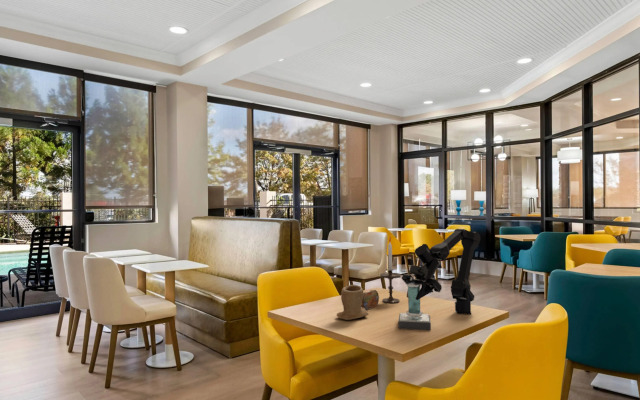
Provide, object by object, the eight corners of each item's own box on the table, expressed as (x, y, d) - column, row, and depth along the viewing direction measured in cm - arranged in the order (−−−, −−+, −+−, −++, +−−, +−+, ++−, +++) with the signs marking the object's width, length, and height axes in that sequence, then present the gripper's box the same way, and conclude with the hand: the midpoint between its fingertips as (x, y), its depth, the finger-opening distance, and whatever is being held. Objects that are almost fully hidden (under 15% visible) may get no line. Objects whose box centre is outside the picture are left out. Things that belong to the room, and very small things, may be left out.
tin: (364, 311, 204) (364, 294, 204) (359, 310, 206) (358, 293, 206) (379, 305, 216) (379, 288, 216) (374, 304, 218) (374, 288, 218)
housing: (418, 311, 183) (417, 282, 184) (425, 315, 177) (424, 285, 177) (403, 313, 182) (403, 283, 182) (410, 317, 175) (409, 286, 175)
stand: (429, 321, 184) (429, 313, 184) (430, 330, 171) (430, 321, 172) (399, 320, 187) (399, 312, 187) (398, 328, 174) (398, 320, 174)
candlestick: (404, 303, 220) (403, 236, 220) (385, 304, 217) (383, 237, 218) (396, 298, 230) (395, 235, 231) (377, 300, 228) (376, 235, 228)
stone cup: (347, 323, 183) (347, 289, 183) (333, 317, 193) (332, 285, 193) (375, 318, 190) (374, 285, 191) (360, 313, 201) (359, 281, 201)
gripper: (403, 256, 190) (386, 283, 183) (436, 260, 174) (419, 290, 168) (416, 271, 194) (399, 299, 188) (449, 277, 179) (432, 306, 172)
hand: (411, 298), depth 179 cm, fingers closed on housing, 5 cm apart
